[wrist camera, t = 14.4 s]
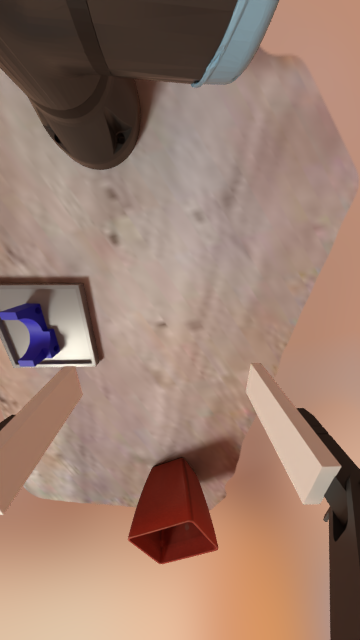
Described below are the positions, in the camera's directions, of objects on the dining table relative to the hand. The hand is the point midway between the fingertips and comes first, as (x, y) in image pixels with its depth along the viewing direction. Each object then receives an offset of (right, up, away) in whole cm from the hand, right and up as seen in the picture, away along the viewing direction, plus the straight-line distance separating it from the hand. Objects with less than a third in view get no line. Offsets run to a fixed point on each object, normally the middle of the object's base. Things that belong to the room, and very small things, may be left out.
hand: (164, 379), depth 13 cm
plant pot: (-1, -51, +49) cm, 70 cm away
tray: (-30, +3, +27) cm, 40 cm away
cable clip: (-30, +3, +26) cm, 40 cm away
